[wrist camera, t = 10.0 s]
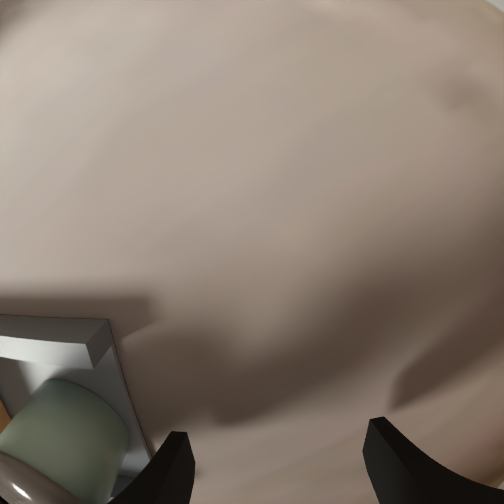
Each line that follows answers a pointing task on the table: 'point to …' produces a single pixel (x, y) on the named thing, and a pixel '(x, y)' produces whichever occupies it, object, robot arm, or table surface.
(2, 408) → the pusher
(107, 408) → the jar
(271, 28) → the table surface
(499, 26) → the table surface
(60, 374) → the lane
